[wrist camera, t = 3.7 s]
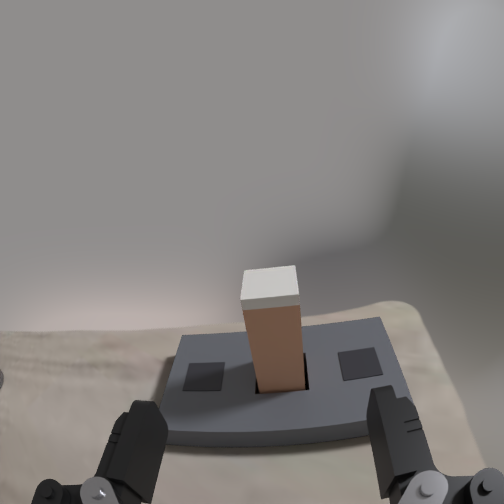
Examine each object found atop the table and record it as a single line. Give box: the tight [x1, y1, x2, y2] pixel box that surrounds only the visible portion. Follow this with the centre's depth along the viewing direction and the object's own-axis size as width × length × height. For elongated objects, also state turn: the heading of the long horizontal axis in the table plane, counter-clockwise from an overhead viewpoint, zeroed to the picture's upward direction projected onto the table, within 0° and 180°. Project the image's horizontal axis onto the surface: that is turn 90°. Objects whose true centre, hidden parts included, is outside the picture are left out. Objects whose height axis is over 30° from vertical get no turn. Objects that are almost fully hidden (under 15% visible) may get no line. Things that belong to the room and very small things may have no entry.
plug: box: [241, 265, 305, 394], centre depth 29 cm, size 4×4×14 cm
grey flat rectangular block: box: [159, 317, 414, 447], centre depth 31 cm, size 24×14×3 cm, turn 87°
